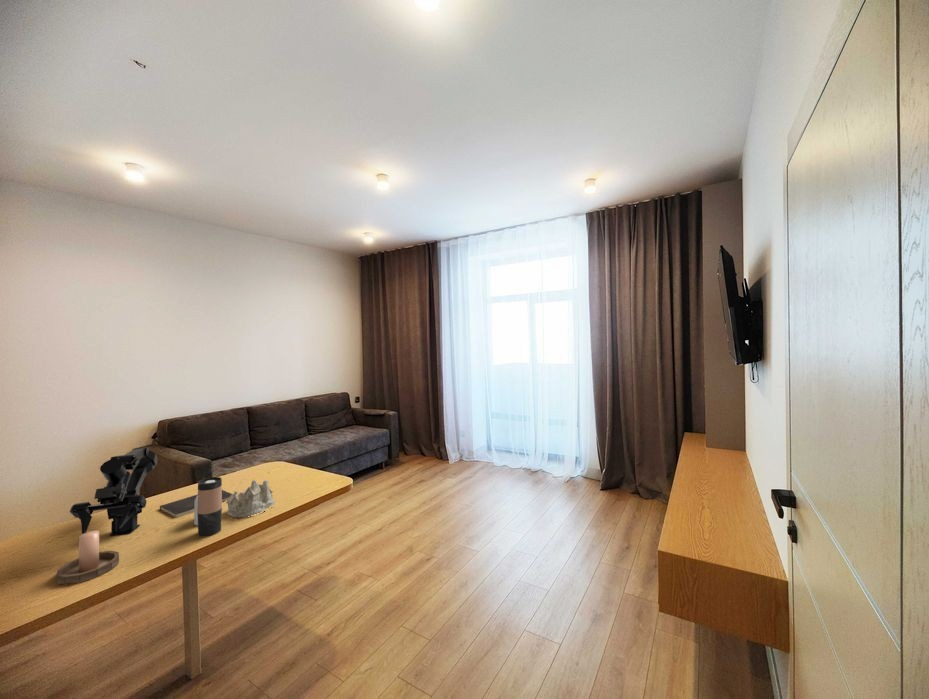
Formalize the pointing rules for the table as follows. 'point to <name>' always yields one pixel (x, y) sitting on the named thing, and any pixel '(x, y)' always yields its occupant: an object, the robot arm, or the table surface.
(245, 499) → the ceramic cottage
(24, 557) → the table surface
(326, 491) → the table surface
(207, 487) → the travel mug
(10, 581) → the table surface
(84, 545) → the candle
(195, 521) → the photo printer
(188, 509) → the hardcover book
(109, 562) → the tray
